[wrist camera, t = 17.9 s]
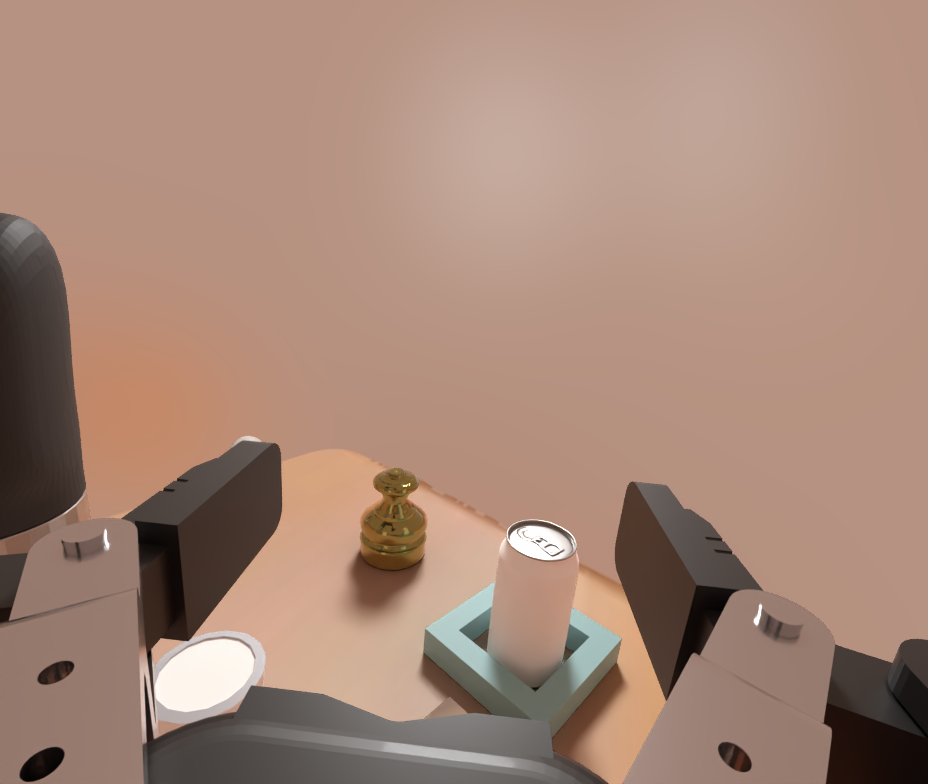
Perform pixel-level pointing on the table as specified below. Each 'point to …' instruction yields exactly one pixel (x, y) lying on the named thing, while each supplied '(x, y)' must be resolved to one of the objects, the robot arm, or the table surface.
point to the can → (533, 600)
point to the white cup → (206, 677)
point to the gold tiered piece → (393, 523)
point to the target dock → (502, 688)
